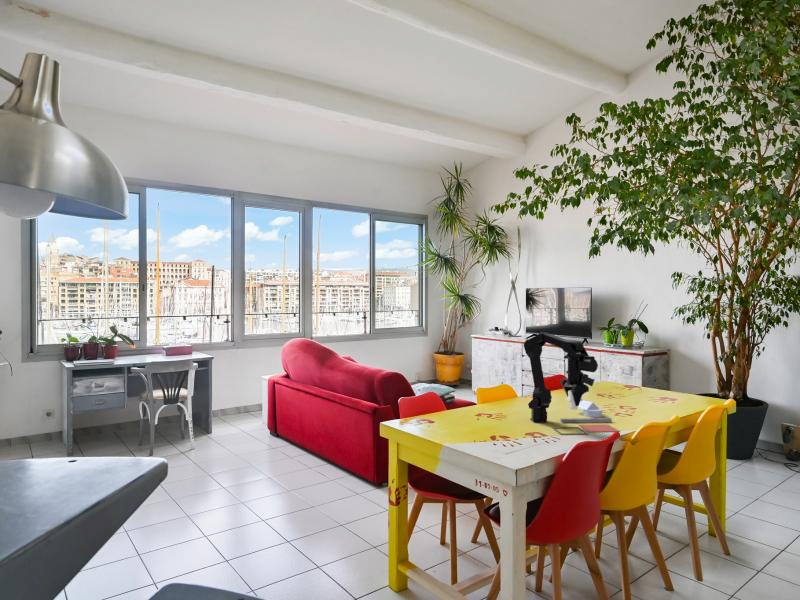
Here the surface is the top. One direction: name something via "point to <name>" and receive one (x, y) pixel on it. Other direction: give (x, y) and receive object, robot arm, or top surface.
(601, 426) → the pad
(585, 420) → the rail
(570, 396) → the pipe fitting
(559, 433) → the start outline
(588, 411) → the wedge on round base
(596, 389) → the top surface
